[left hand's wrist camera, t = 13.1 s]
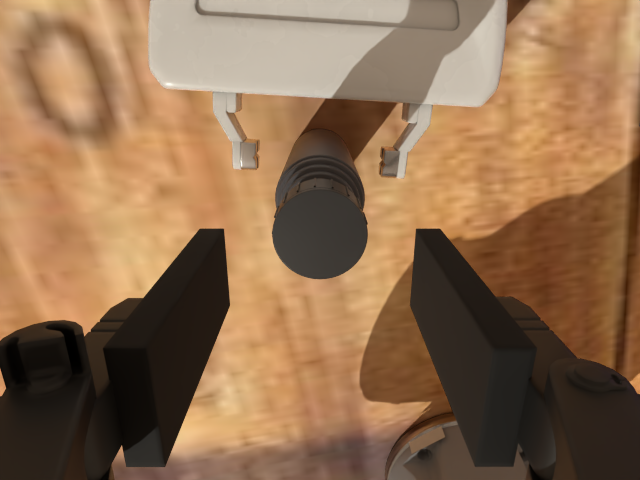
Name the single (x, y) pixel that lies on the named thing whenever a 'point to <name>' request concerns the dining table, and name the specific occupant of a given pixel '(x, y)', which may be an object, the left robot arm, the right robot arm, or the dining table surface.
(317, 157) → the bottle
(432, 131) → the dining table surface
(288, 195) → the cap
